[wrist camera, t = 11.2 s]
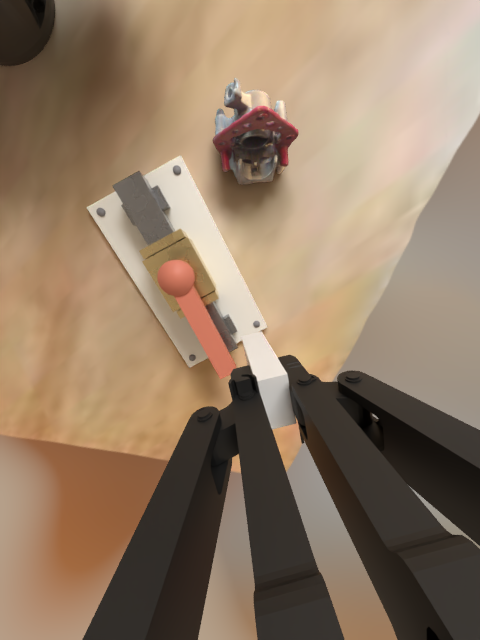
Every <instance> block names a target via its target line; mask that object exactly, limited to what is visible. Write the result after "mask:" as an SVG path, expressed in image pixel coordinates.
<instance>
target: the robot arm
mask: <svg viewBox="0 0 480 640" xmlns="http://www.w3.org/2000/svg"><path fill="white" fill-rule="evenodd" d="M54 18H55V4H54V0H0V65H2V66H13V65H19V64H22V63H25V62H27V61H29V60H31V59H33V58H34V57H36V56H37V55H38V54H39V53H40V52H41V51H42V50H43V48H44V47H45V45H46V44H47V42H48V40H49V38H50V35H51V33H52V29H53V25H54ZM241 338H242V342H243V347H244V351H245V355H246V360H247V364H248V366H244V367H240V368H236V369H233V370H232V372H231V379H230V381H229V388H230V392H231V396H232V400H233V401H232V402H231V404H230V405H229V406H227V407H226V408H224V409H222V410H220V411H218V409H217V408H215V407H203V408H201V409H199V410H197V411H196V412H194V413H193V414H192V416H191V417H190V419H189V421H188V423H187V425H186V427H185V429H184V431H183V433H182V435H181V438H180V440H179V442H178V444H177V446H176V448H175V450H174V452H173V454H172V456H171V458H170V460H169V462H168V464H167V466H166V469H165V471H164V473H163V475H162V477H161V479H160V481H159V483H158V485H157V487H156V489H155V491H154V493H153V495H152V498H151V499H150V502H149V504H148V506H147V508H146V510H145V512H144V514H143V516H142V518H141V520H140V522H139V524H138V526H137V528H136V530H135V532H134V535H133V537H132V539H131V541H130V543H129V545H128V547H127V549H126V551H125V553H124V555H123V557H122V559H121V561H120V563H119V566H118V568H117V570H116V572H115V574H114V576H113V578H112V580H111V582H110V584H109V586H108V588H107V590H106V592H105V594H104V597H103V598H102V601H101V603H100V605H99V607H98V609H97V611H96V613H95V615H94V617H93V619H92V621H91V624H90V626H89V627H88V629H87V632H86V634H85V636H84V638H83V640H198V635H199V630H200V625H201V620H202V615H203V610H204V604H205V599H206V594H207V589H208V584H209V579H210V574H211V568H212V563H213V558H214V553H215V548H216V543H217V538H218V532H219V527H220V522H221V517H222V512H223V507H224V502H225V497H226V491H227V486H228V481H229V476H230V471H231V466H232V457H234V456H236V455H237V454H239V458H240V466H241V474H242V482H243V490H244V498H245V507H246V515H247V522H248V532H249V540H250V547H251V556H252V563H253V572H254V580H255V591H254V609H255V619H256V628H257V637H258V640H344V637H343V634H342V631H341V628H340V625H339V622H338V619H337V616H336V613H335V610H334V607H333V604H332V601H331V599H330V595H329V593H328V590H327V587H326V584H325V581H324V579H323V577H322V575H321V573H320V572H319V570H318V568H317V565H316V562H315V559H314V556H313V553H312V550H311V547H310V544H309V541H308V538H307V534H306V531H305V529H304V525H303V523H302V519H301V516H300V513H299V510H298V507H297V504H296V501H295V498H294V495H293V492H292V489H291V486H290V483H289V480H288V477H287V474H286V471H285V468H284V465H283V462H282V458H281V455H280V452H279V449H278V446H277V443H276V440H275V437H274V434H273V431H272V429H276V428H280V427H284V426H288V425H291V424H295V423H296V419H295V416H296V418H297V420H298V425H299V430H300V436H301V441H302V444H303V443H304V441H305V443H306V445H307V447H308V449H309V451H310V453H311V456H312V457H313V460H314V462H315V464H316V466H317V468H318V470H319V472H320V474H321V476H322V479H323V481H324V483H325V485H326V487H327V489H328V491H329V493H330V495H331V497H332V499H333V502H334V504H335V506H336V508H337V510H338V512H339V514H340V516H341V518H342V520H343V523H344V525H345V527H346V529H347V531H348V533H349V535H350V537H351V539H352V542H353V544H354V546H355V548H356V550H357V552H358V554H359V556H360V558H361V560H362V562H363V564H364V567H365V569H366V571H367V573H368V575H369V577H370V579H371V581H372V584H373V586H374V588H375V590H376V592H377V594H378V596H379V598H380V600H381V602H382V604H383V607H384V609H385V611H386V613H387V615H388V617H389V619H390V621H391V624H392V626H393V628H394V631H395V634H396V636H397V639H398V640H480V549H479V548H478V547H477V546H476V545H475V544H474V543H473V542H472V541H470V540H469V539H467V538H466V537H464V536H462V535H452V534H450V533H449V532H448V531H446V529H444V528H443V526H442V525H441V524H440V523H439V522H438V521H437V519H436V518H435V517H434V516H433V515H432V513H431V512H430V511H429V510H428V509H427V508H426V506H425V505H424V504H423V503H422V501H421V500H420V499H419V498H418V497H417V495H416V494H415V493H414V492H413V491H412V489H414V490H415V491H416V492H417V493H418V494H419V495H421V496H422V497H423V498H424V499H425V500H426V501H428V502H429V503H430V504H431V505H432V506H433V507H435V508H436V509H437V510H438V511H439V512H440V513H442V514H443V515H444V516H445V517H446V518H448V519H449V520H450V521H451V522H452V523H453V524H455V525H456V526H457V527H458V528H459V529H461V530H462V531H463V532H464V533H465V534H466V535H468V536H469V537H470V538H471V539H472V540H473V541H475V542H476V543H477V544H478V545H479V546H480V430H478V429H476V428H474V427H472V426H470V425H468V424H466V423H464V422H462V421H460V420H458V419H456V418H454V417H452V416H450V415H448V414H446V413H444V412H442V411H440V410H438V409H436V408H434V407H431V406H430V405H427V404H426V403H424V402H421V401H420V400H418V399H416V398H414V397H412V396H410V395H407V394H405V393H403V392H401V391H399V390H397V389H395V388H393V387H391V386H389V385H387V384H385V383H383V382H381V381H379V380H377V379H375V378H373V377H371V376H369V375H367V374H365V373H362V372H360V371H346V372H343V373H341V374H339V375H338V377H337V380H338V382H321V380H320V379H319V378H318V377H317V376H315V375H312V374H309V373H308V372H307V371H306V370H305V368H304V367H303V366H302V365H301V363H300V362H299V361H298V359H297V358H296V357H294V356H292V355H287V356H282V357H278V358H277V356H276V354H275V353H274V351H273V349H272V348H271V346H270V345H269V343H268V341H267V340H266V338H265V336H264V335H263V333H262V331H261V332H257V333H252V334H248V335H244V336H241ZM372 413H373V414H374V415H376V416H377V417H378V418H379V419H376V418H375V417H373V416H372ZM407 484H408V485H409V486H410V487H411V488H412V489H411V488H410V487H409V486H408V485H407Z"/></svg>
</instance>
